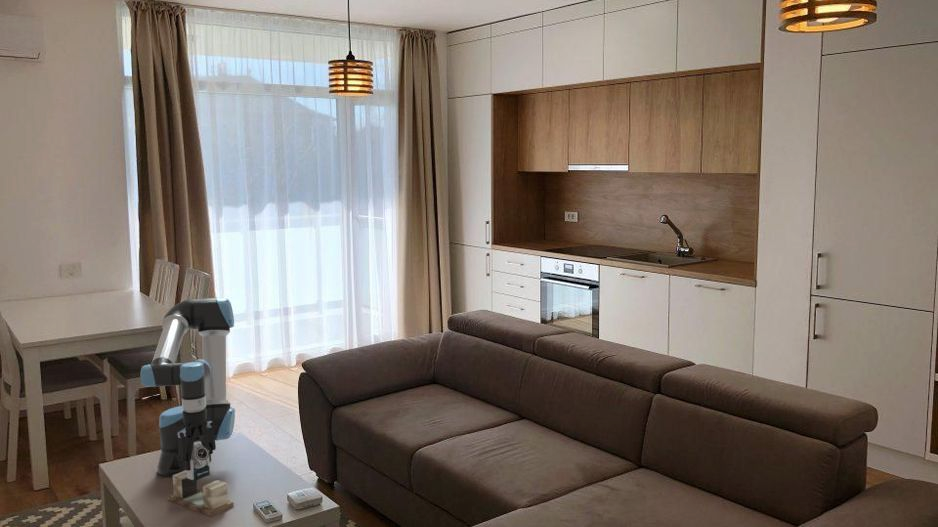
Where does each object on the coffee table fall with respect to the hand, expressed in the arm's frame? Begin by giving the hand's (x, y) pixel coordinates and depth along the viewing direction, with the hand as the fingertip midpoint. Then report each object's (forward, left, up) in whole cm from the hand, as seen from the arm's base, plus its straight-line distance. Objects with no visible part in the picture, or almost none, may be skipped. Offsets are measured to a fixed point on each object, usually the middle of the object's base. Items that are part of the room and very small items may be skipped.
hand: (198, 475), depth 263 cm
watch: (0, 0, -1) cm, 1 cm away
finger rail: (0, 0, -10) cm, 10 cm away
